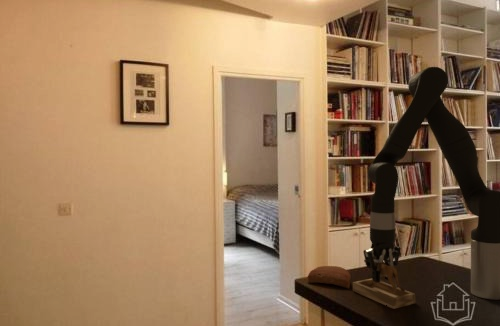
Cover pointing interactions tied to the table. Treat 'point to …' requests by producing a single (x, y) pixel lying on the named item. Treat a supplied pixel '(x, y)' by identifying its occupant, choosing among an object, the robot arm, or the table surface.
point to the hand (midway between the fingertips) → (382, 280)
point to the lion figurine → (389, 275)
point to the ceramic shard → (330, 276)
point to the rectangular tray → (384, 293)
